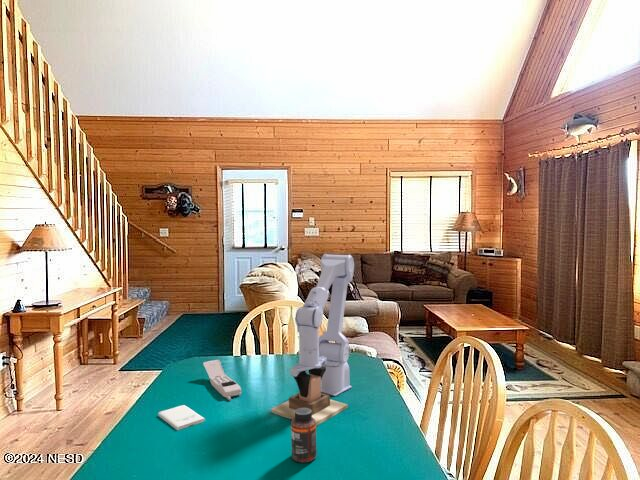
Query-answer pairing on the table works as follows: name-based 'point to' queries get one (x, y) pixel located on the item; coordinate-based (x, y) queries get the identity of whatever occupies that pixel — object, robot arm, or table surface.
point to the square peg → (313, 389)
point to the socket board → (319, 408)
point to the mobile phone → (221, 380)
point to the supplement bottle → (303, 436)
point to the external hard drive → (181, 417)
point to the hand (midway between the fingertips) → (309, 393)
